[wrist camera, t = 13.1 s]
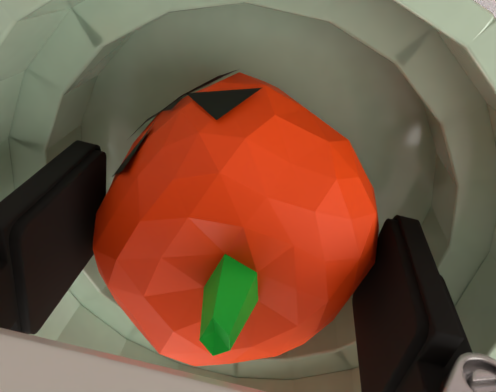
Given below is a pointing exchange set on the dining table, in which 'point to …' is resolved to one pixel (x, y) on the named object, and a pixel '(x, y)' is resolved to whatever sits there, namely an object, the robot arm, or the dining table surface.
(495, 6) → the dining table surface
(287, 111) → the pumpkin
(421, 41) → the bowl
